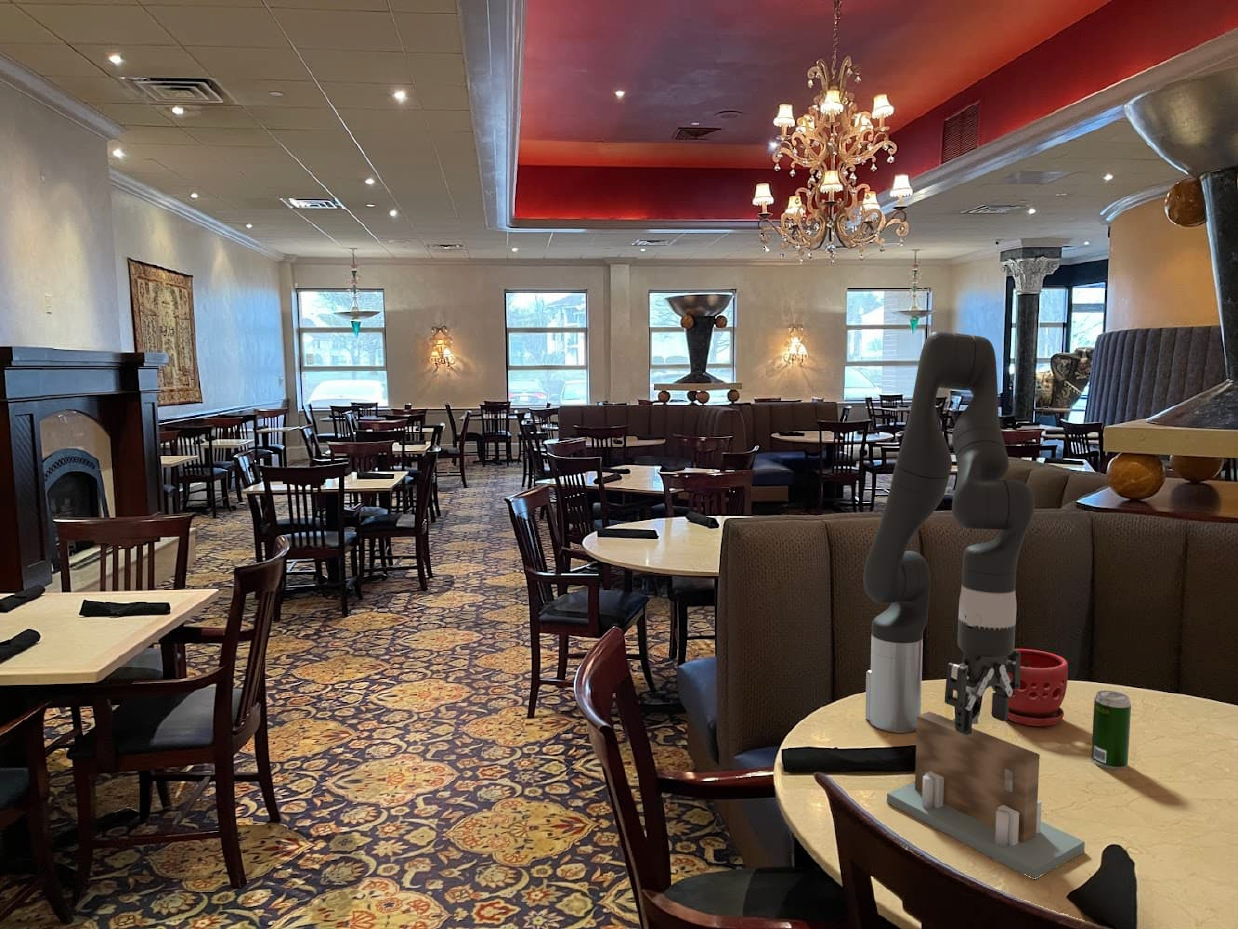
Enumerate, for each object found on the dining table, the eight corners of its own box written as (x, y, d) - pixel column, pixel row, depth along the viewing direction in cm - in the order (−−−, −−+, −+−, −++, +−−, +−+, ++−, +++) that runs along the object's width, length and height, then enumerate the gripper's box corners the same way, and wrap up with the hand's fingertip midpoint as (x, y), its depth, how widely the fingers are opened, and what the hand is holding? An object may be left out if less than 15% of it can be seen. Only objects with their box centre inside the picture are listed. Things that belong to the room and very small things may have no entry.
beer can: (1117, 774, 137) (1121, 704, 136) (1084, 761, 142) (1088, 694, 140) (1133, 765, 140) (1137, 697, 139) (1100, 754, 145) (1104, 687, 143)
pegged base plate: (886, 802, 129) (887, 765, 128) (936, 782, 135) (937, 746, 134) (1034, 880, 108) (1036, 836, 108) (1084, 851, 115) (1086, 810, 114)
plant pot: (1058, 708, 165) (1061, 649, 163) (1071, 735, 152) (1074, 672, 151) (987, 700, 169) (989, 643, 168) (994, 726, 156) (996, 664, 155)
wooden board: (914, 789, 130) (916, 715, 128) (927, 784, 131) (929, 711, 130) (1023, 843, 114) (1026, 760, 113) (1036, 836, 116) (1040, 754, 115)
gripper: (993, 604, 125) (988, 706, 127) (932, 619, 118) (927, 727, 120) (1040, 616, 119) (1034, 724, 121) (979, 633, 112) (973, 747, 113)
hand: (981, 725), depth 120 cm, fingers open, 8 cm apart
